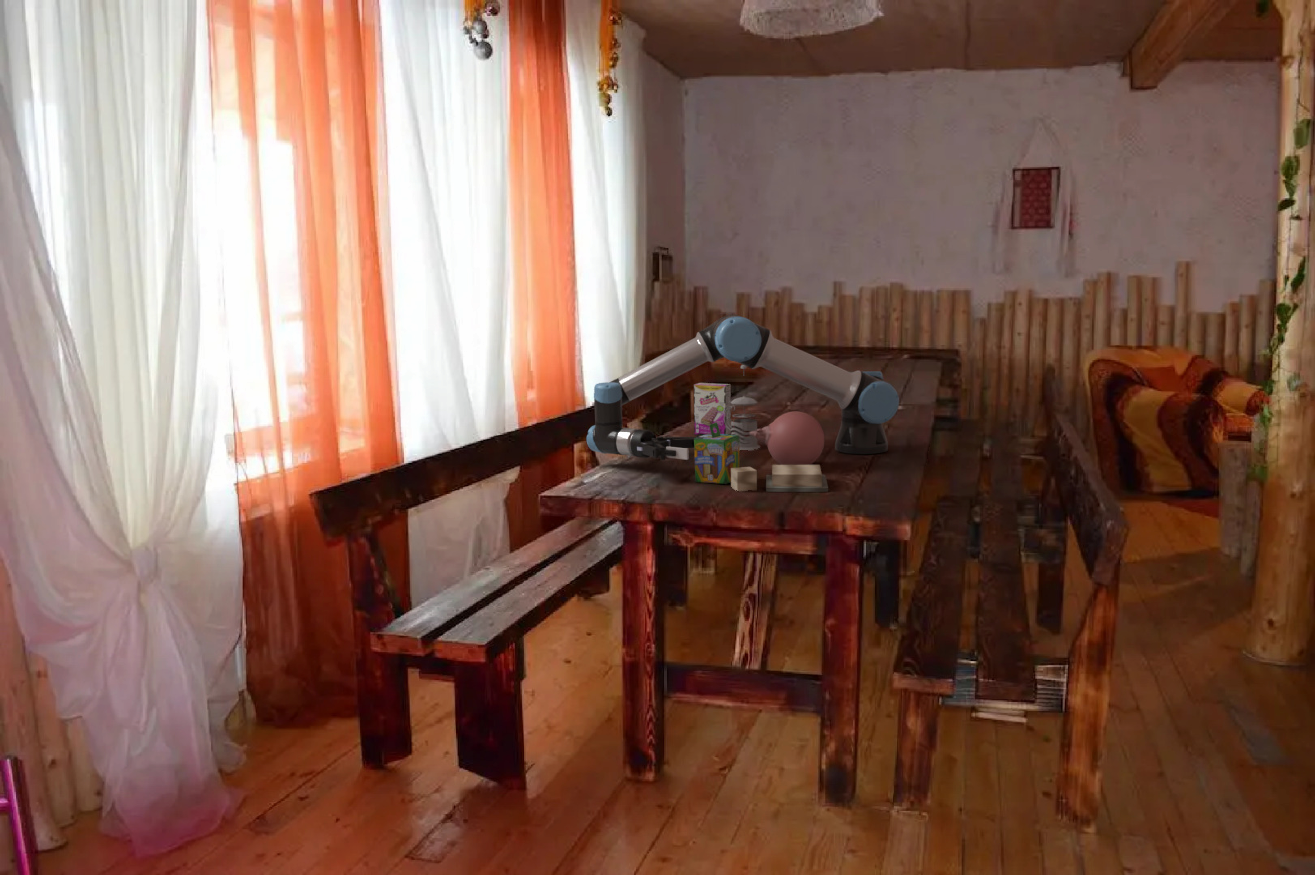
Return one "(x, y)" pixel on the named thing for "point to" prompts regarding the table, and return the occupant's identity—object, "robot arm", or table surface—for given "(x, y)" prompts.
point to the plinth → (796, 479)
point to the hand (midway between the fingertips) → (702, 449)
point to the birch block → (744, 479)
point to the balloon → (793, 438)
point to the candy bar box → (711, 407)
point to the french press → (740, 420)
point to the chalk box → (715, 456)
